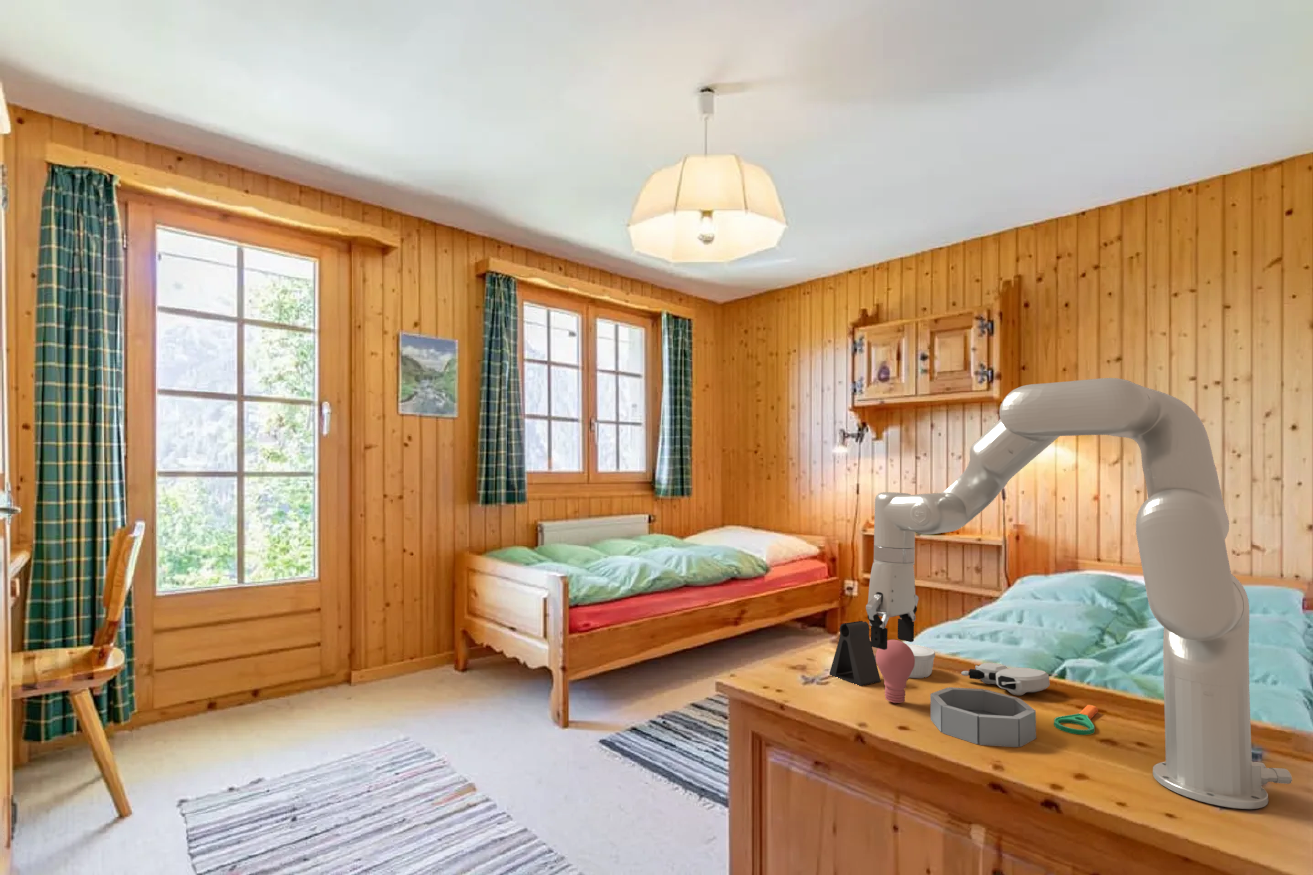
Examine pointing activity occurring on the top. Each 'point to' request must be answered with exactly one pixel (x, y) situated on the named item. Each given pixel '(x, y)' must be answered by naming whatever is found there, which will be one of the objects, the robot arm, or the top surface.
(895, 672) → the light bulb
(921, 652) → the ramekin
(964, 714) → the ceramic bowl
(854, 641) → the phone stand
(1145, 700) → the top surface
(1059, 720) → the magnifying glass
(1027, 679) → the robot toy
